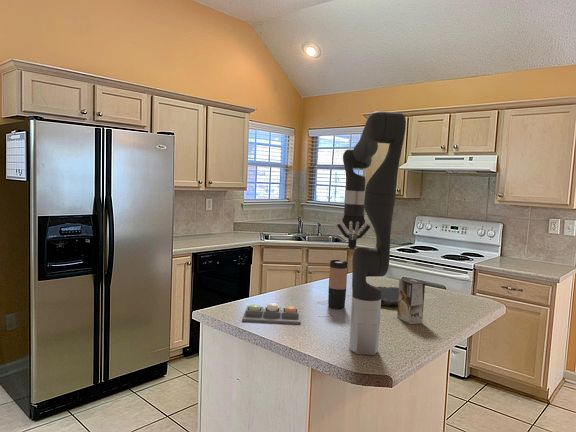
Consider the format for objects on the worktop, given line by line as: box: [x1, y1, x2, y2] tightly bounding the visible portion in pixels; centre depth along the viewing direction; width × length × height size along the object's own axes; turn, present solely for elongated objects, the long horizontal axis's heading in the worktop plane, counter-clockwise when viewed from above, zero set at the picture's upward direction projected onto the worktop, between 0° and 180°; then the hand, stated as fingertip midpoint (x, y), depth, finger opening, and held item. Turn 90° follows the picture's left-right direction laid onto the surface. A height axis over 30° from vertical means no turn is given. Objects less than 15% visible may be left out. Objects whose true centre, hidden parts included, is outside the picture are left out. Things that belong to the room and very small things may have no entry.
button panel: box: [241, 305, 302, 325], centre depth 168 cm, size 14×22×3 cm, turn 89°
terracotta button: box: [284, 305, 297, 313], centre depth 168 cm, size 4×4×2 cm
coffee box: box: [396, 278, 426, 325], centre depth 172 cm, size 9×6×16 cm
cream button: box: [266, 302, 279, 312], centre depth 168 cm, size 4×4×2 cm
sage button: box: [249, 304, 261, 311], centre depth 168 cm, size 4×4×2 cm
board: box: [376, 286, 399, 307], centre depth 200 cm, size 22×22×5 cm
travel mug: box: [327, 259, 349, 310], centre depth 186 cm, size 8×8×20 cm
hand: (351, 248), depth 162 cm, fingers closed
